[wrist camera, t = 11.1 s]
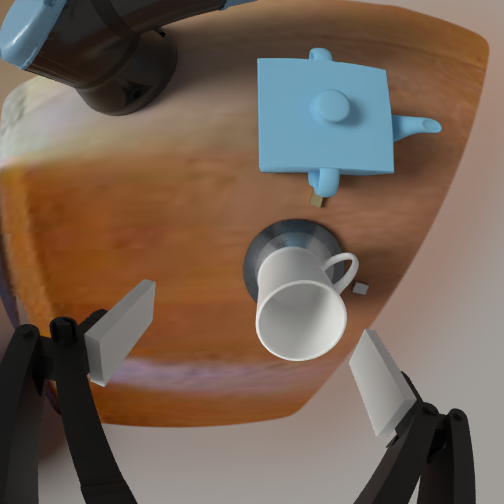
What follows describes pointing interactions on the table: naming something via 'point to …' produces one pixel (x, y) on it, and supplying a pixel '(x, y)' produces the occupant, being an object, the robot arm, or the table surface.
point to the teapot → (328, 120)
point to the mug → (300, 303)
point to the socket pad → (295, 236)
